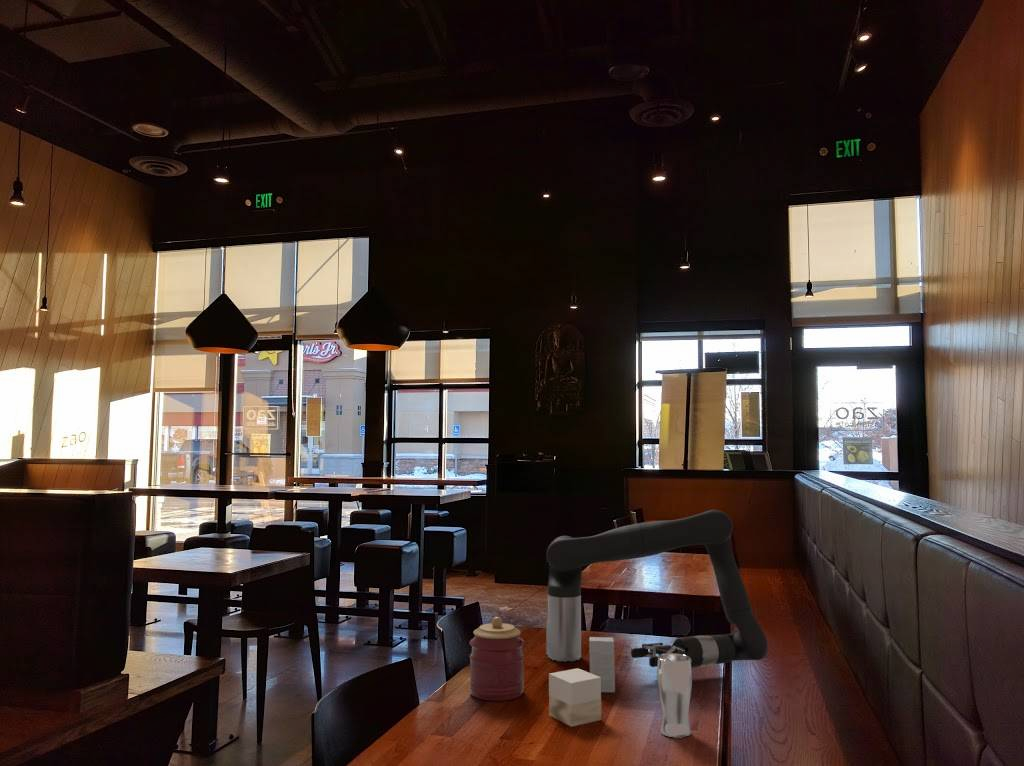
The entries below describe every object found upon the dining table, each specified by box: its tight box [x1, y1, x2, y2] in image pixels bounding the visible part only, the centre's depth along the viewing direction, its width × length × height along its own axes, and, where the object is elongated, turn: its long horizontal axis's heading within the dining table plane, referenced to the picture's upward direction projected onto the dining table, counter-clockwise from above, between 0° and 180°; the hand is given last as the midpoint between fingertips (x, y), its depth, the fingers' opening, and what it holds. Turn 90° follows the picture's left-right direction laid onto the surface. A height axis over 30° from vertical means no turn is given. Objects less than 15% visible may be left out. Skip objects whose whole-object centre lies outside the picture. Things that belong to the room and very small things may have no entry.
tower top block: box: [548, 667, 602, 705], centre depth 162 cm, size 8×8×4 cm
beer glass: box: [656, 653, 693, 739], centre depth 154 cm, size 7×7×15 cm
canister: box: [468, 616, 525, 702], centre depth 179 cm, size 13×13×18 cm
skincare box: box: [588, 636, 616, 693], centre depth 181 cm, size 6×4×12 cm
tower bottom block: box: [548, 694, 602, 727], centre depth 162 cm, size 8×8×4 cm
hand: (640, 657), depth 185 cm, fingers open, 8 cm apart
